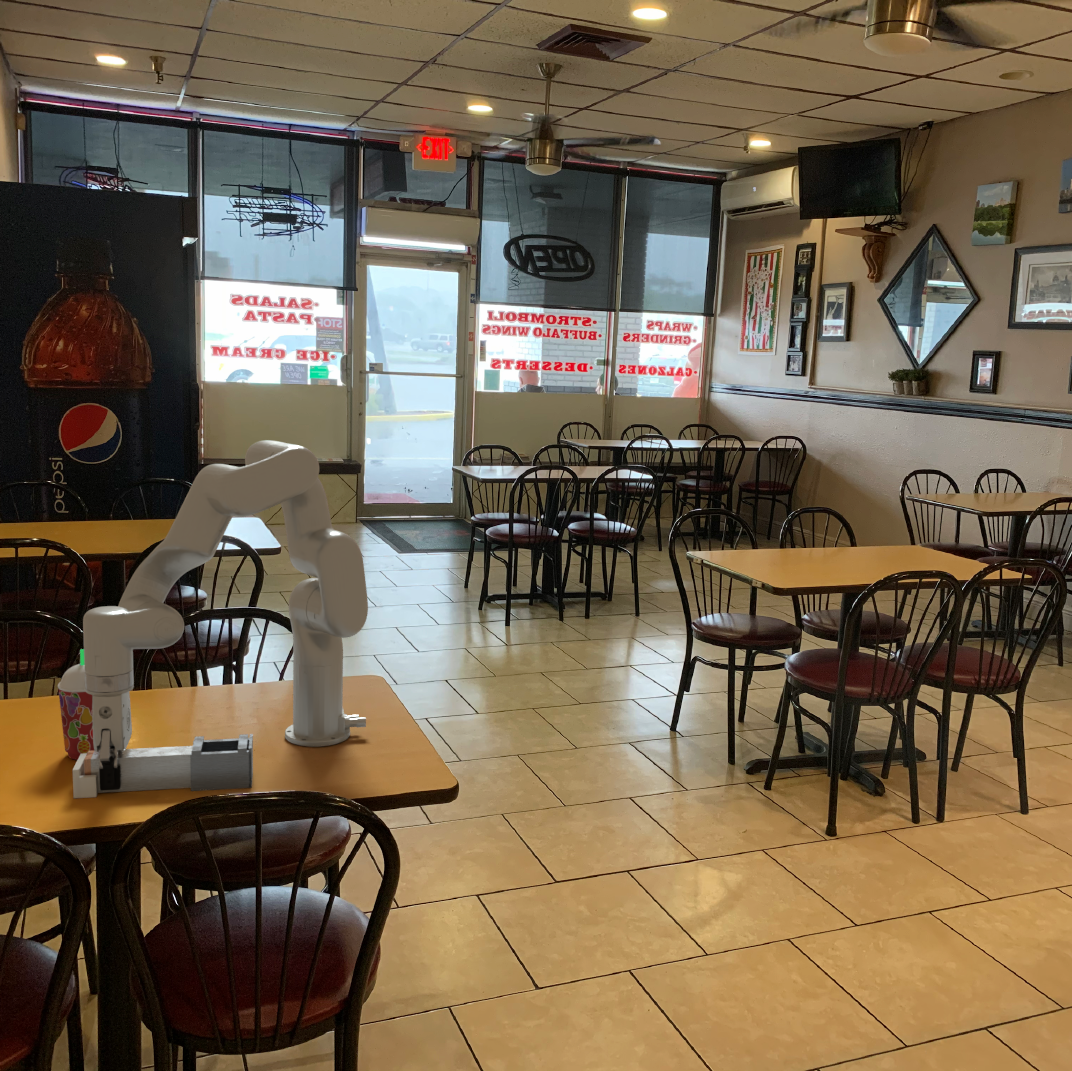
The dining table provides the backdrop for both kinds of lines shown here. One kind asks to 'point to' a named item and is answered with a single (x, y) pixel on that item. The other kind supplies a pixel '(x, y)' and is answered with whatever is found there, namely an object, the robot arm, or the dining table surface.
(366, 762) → the dining table surface
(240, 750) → the sleeve
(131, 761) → the grey two-tone block
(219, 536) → the robot arm
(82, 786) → the socket
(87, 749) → the smoothie
